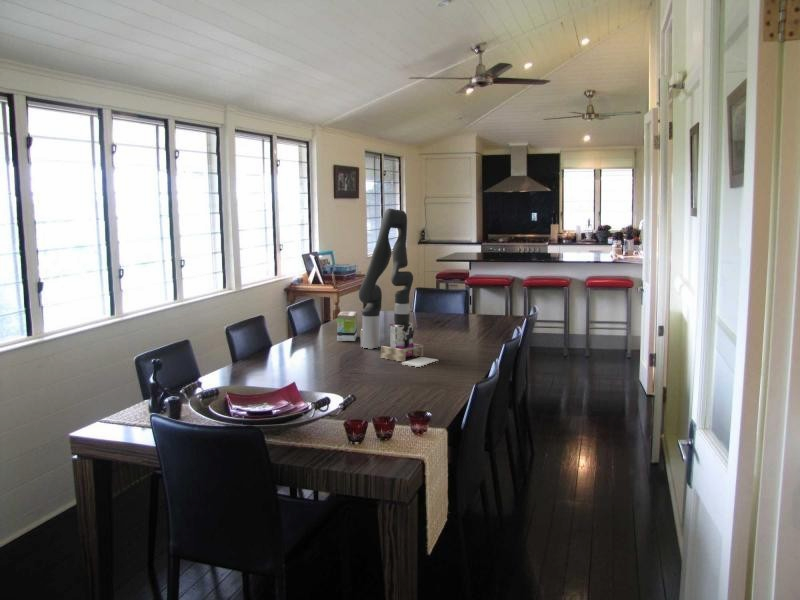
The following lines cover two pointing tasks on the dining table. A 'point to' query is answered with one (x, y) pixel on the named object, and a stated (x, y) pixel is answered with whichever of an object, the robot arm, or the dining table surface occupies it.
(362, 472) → the dining table surface
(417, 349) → the dispenser rack
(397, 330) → the candy bar box
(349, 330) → the tea box
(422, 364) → the white panel
